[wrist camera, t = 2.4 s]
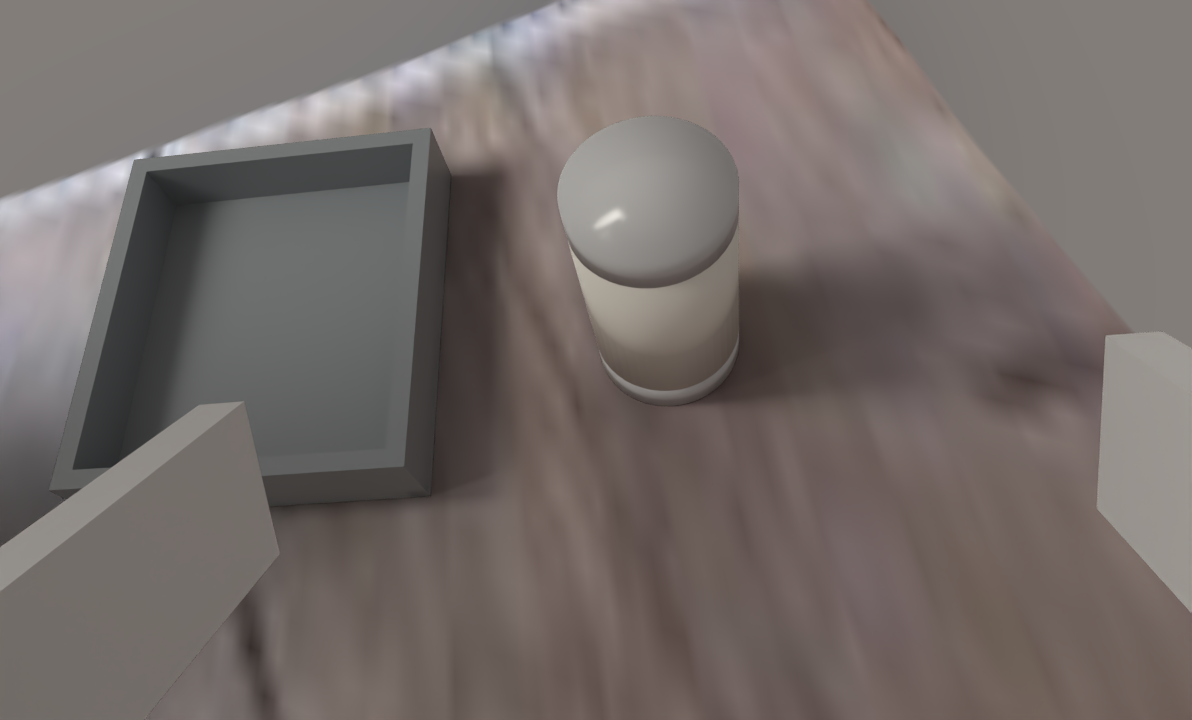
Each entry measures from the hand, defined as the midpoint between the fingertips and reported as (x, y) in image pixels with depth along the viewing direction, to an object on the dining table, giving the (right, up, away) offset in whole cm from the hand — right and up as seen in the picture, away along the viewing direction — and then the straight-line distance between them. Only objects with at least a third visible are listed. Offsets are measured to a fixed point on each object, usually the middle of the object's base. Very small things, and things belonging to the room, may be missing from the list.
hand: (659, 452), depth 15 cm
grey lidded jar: (+2, +2, +26) cm, 26 cm away
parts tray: (-15, +3, +29) cm, 33 cm away
